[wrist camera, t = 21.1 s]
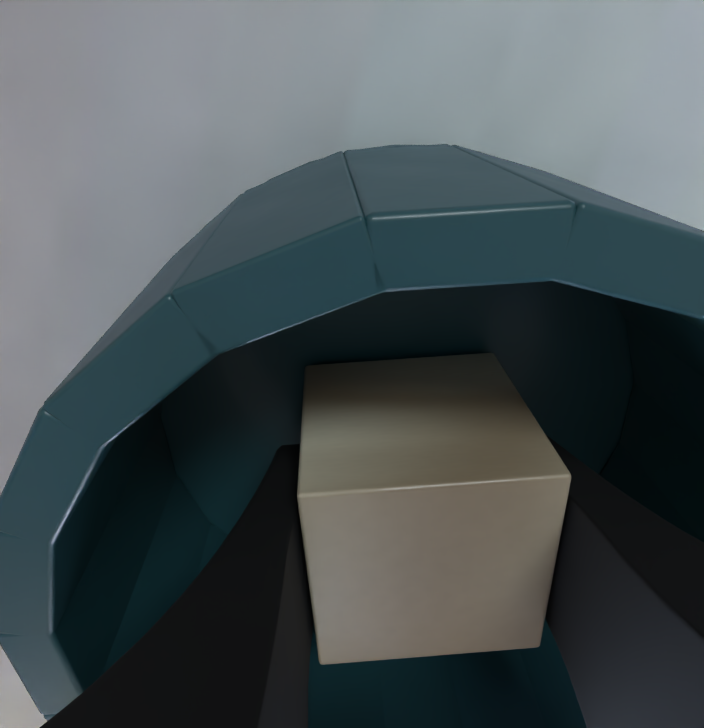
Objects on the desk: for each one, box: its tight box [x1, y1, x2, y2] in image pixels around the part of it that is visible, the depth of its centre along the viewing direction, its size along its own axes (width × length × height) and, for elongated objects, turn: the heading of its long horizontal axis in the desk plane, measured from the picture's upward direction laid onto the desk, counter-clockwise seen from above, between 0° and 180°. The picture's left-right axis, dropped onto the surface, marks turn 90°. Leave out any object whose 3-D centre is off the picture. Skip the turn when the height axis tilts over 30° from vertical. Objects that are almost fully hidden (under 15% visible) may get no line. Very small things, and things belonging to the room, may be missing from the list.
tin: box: [0, 144, 704, 728], centre depth 10 cm, size 13×13×6 cm
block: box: [297, 353, 571, 665], centre depth 11 cm, size 4×4×4 cm
